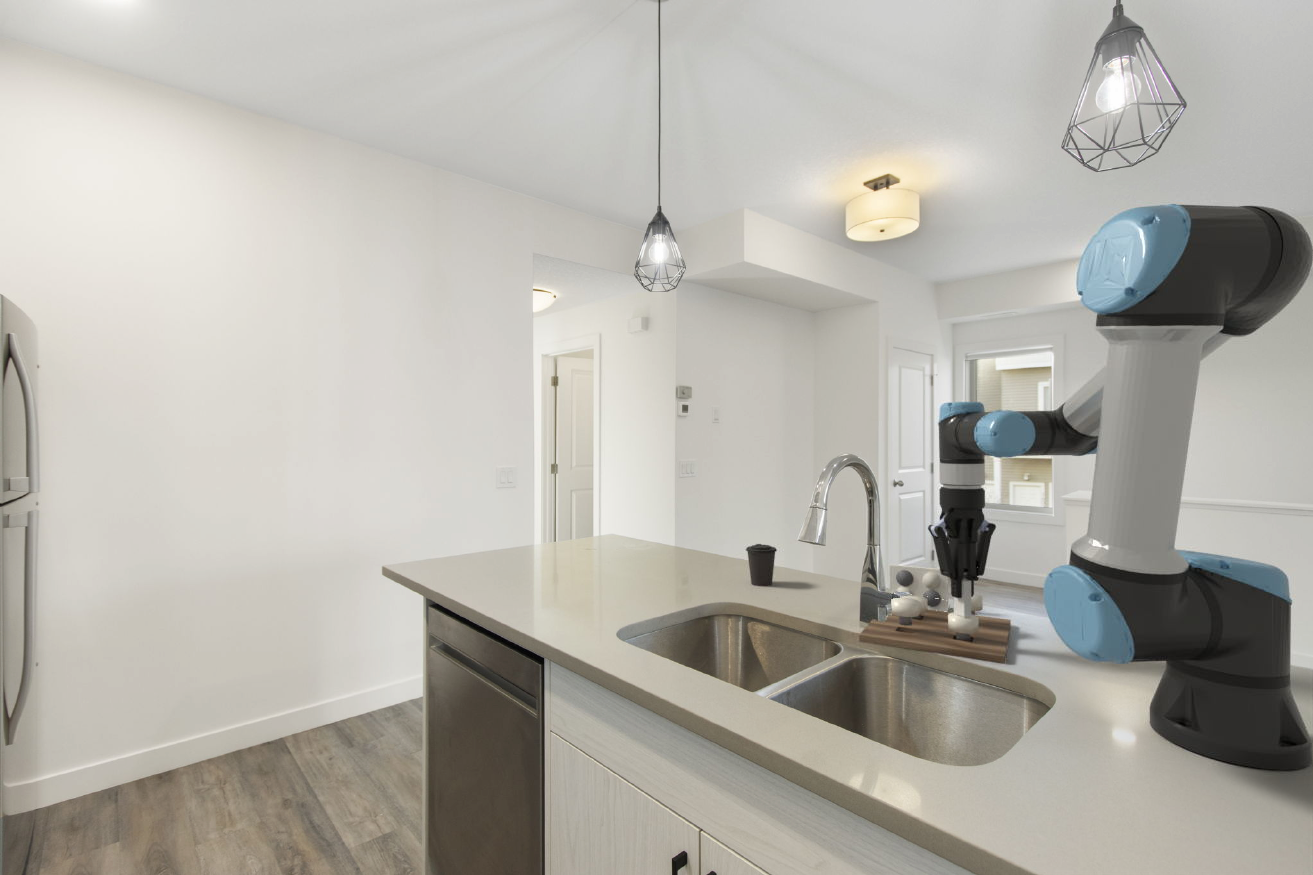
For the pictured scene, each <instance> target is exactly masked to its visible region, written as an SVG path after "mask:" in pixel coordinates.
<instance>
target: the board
mask: <svg viewBox="0 0 1313 875" xmlns="http://www.w3.org/2000/svg"><path fill="white" fill-rule="evenodd" d="M949 613H953V612H952V611H948V612H944V611H936V610H928V612H927V613H923V614H921V620H918V619H912V625H910V626H905V625H900V624H899V616H897V615H894V614H892V615H888V617H887V620H886V621H885V622H879V621H877V620H876V619H873V618H872V620H871V621H870V622H869V623H868V624H867V625H866V626H865V627H864V628H863V629H862V631H860V633H859V635H858V637H859V642H864V643H870V644H876V645H883V646H888V647H889V646H890V647H895V648H903V649H909V650H916V651H922V652H928V653H935V654H941V655H947V656H954V657H961V658H967V659H973V660H978V661H979V660H980V661H985V662H992V663H999V664H1003V665H1005V664H1006V660H1007V653H1008V652H1007V651H1008V646H1009V639H1010V632H1011V627H1012V626H1011V625H1012V623H1011V619H1008V618H1000V617H991V616H985V615H984V616H983V615H977V614H975V616H977V617H978V632H977V633H974V634H971V641H970V642H967V641H960V640H956V632H954V631H951V630H949V629H948V614H949Z"/></svg>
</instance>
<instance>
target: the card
mask: <svg viewBox="0 0 1313 875" xmlns="http://www.w3.org/2000/svg"><path fill="white" fill-rule="evenodd" d="M890 590H894V591H898V592H909V593H910V594H912V596H921V597H924V598H926V599H927V607H928V610H937V611H947V612H950V609H951V604H949V577H947V576H944V575H942V574H941V572H940V568H934V567H933V568H932V567H923V566H921V567H920V566H914V565H913V566H910V565H900V564H892V563H891V564H889V591H890ZM910 594H909V595H910ZM927 596H928V597H927ZM935 598H939V599H935ZM942 599H944V600H942ZM946 600H947V601H946Z"/></svg>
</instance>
